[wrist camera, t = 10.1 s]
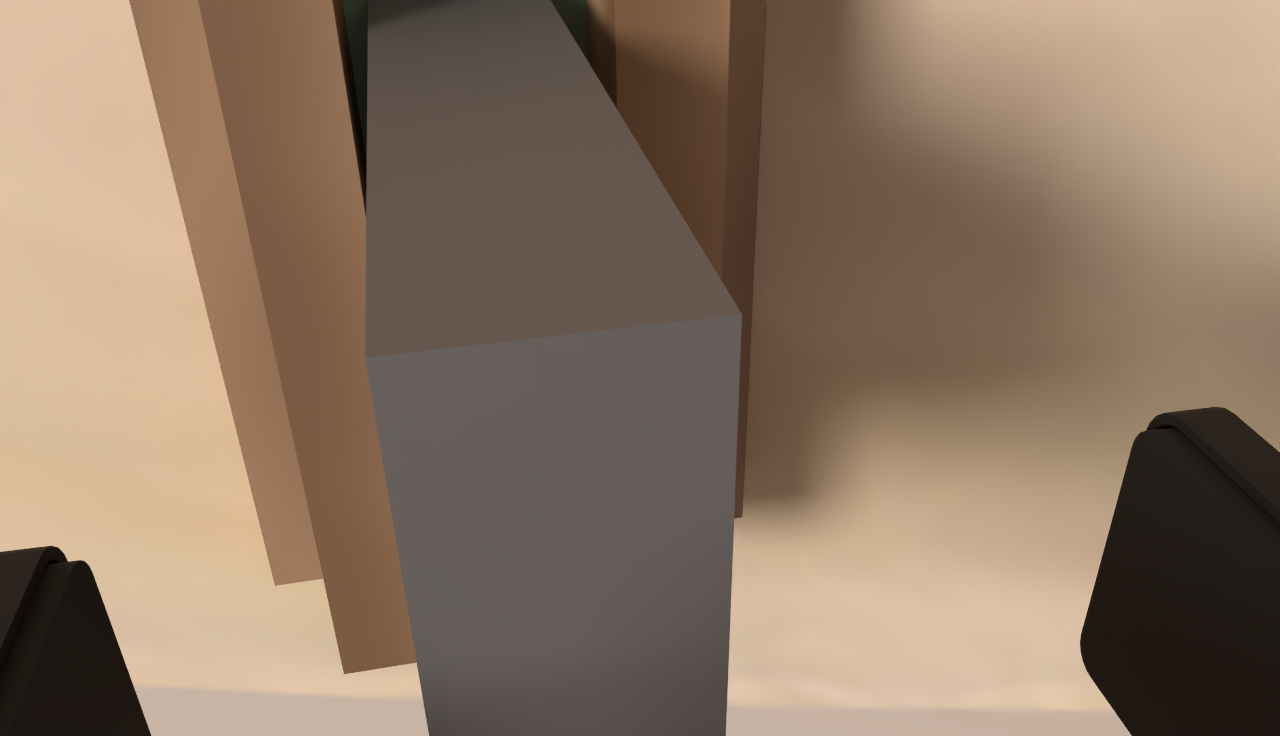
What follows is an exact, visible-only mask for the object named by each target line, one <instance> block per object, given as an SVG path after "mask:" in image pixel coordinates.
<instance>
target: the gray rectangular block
mask: <svg viewBox="0 0 1280 736" xmlns="http://www.w3.org/2000/svg"><path fill="white" fill-rule="evenodd" d="M741 327H742V313H741V312H740V310H739V309H738V307H737V305H736V304H735V302H734V300H733V299H732V297H731V295H730V294H729V292H728V291H727V289H726V287H725V286H724V284H723V282H722V281H721V279H720V277H719V276H718V274H717V272H716V271H715V269H714V268H713V266H712V264H711V263H710V261H709V259H708V258H707V256H706V254H705V253H704V251H703V249H702V248H701V246H700V245H699V243H698V241H697V240H696V238H695V236H694V235H693V233H692V231H691V230H690V228H689V227H688V225H687V223H686V222H685V220H684V218H683V217H682V215H681V213H680V212H679V210H678V208H677V207H676V205H675V204H674V202H673V200H672V199H671V197H670V195H669V194H668V192H667V190H666V189H665V187H664V186H663V184H662V182H661V181H660V179H659V177H658V176H657V174H656V172H655V171H654V169H653V167H652V166H651V164H650V163H649V161H648V159H647V158H646V156H645V154H644V153H643V151H642V149H641V148H640V146H639V144H638V143H637V141H636V140H635V138H634V136H633V135H632V133H631V131H630V130H629V128H628V126H627V125H626V123H625V122H624V120H623V118H622V117H621V115H620V113H619V112H618V110H617V108H616V107H615V105H614V103H613V102H612V100H611V99H610V97H609V95H608V94H607V92H606V90H605V89H604V87H603V85H602V84H601V82H600V81H599V79H598V77H597V76H596V74H595V72H594V71H593V69H592V67H591V66H590V64H589V62H588V61H587V59H586V58H585V56H584V54H583V53H582V51H581V49H580V48H579V46H578V44H577V43H576V41H575V39H574V38H573V36H572V35H571V33H570V31H569V30H568V28H567V26H566V25H565V23H564V21H563V20H562V18H561V17H560V15H559V13H558V12H557V10H556V8H555V7H554V5H553V3H552V2H551V0H368V71H367V188H366V304H365V361H366V367H367V372H368V378H369V384H370V390H371V396H372V402H373V408H374V414H375V419H376V425H377V431H378V437H379V443H380V449H381V455H382V461H383V466H384V472H385V478H386V484H387V490H388V496H389V502H390V508H391V513H392V519H393V525H394V531H395V537H396V543H397V549H398V555H399V560H400V566H401V572H402V578H403V584H404V590H405V596H406V602H407V607H408V613H409V619H410V625H411V631H412V637H413V643H414V649H415V654H416V660H417V666H418V672H419V678H420V684H421V690H422V696H423V701H424V707H425V713H426V718H427V724H428V731H429V736H725V735H726V712H727V686H728V661H729V635H730V609H731V584H732V558H733V532H734V507H735V481H736V455H737V430H738V404H739V378H740V353H741Z"/></svg>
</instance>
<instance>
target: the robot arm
mask: <svg viewBox="0 0 1280 736" xmlns="http://www.w3.org/2000/svg"><path fill="white" fill-rule="evenodd" d="M1080 647H1081V654H1082V659H1083V662H1084V665H1085V667H1086V670H1087V672H1088V673H1089V675H1090V677H1091V678H1092V680H1093V681H1094V683H1095V684H1096V685H1097V687H1098V688H1099V690H1100V691H1101V693H1102V694H1103V695H1104V697H1105V698H1106V700H1107V701H1108V702H1109V704H1110V705H1111V707H1112V708H1113V710H1114V711H1115V712H1116V714H1117V715H1118V717H1119V718H1120V719H1121V721H1122V722H1123V724H1124V725H1125V727H1126V728H1127V729H1128V731H1129V732H1130V733H1131V735H1132V736H1280V452H1278V451H1277V450H1276V449H1275V448H1274V447H1273V446H1271V445H1270V444H1269V443H1268V442H1267V441H1266V440H1264V439H1263V438H1262V437H1261V436H1260V435H1258V434H1257V433H1256V432H1255V431H1254V430H1253V429H1251V428H1250V427H1249V426H1248V425H1247V424H1246V423H1244V422H1243V421H1242V420H1241V419H1240V418H1239V417H1237V416H1236V415H1235V414H1234V413H1232V412H1230V411H1229V410H1227V409H1225V408H1220V407H1210V408H1202V409H1194V410H1185V411H1177V412H1169V413H1163V414H1160V415H1157V416H1156V417H1155V418H1154V419H1153V420H1152V421H1151V422H1150V424H1149V426H1148V428H1147V430H1146V431H1144V432H1141V433H1140V434H1139V435H1138V436H1137V437H1136V438H1135V440H1134V443H1133V445H1132V449H1131V453H1130V456H1129V460H1128V464H1127V467H1126V471H1125V475H1124V478H1123V482H1122V486H1121V489H1120V493H1119V497H1118V501H1117V504H1116V508H1115V512H1114V515H1113V519H1112V523H1111V526H1110V530H1109V534H1108V537H1107V541H1106V545H1105V548H1104V552H1103V556H1102V560H1101V563H1100V567H1099V571H1098V574H1097V578H1096V582H1095V585H1094V589H1093V593H1092V596H1091V600H1090V604H1089V607H1088V611H1087V615H1086V619H1085V622H1084V626H1083V630H1082V633H1081V640H1080ZM0 736H151V734H150V731H149V728H148V725H147V723H146V720H145V717H144V714H143V711H142V709H141V706H140V703H139V700H138V698H137V695H136V692H135V689H134V686H133V684H132V681H131V678H130V675H129V673H128V670H127V667H126V664H125V661H124V659H123V656H122V653H121V650H120V648H119V645H118V642H117V639H116V637H115V634H114V631H113V628H112V625H111V623H110V620H109V617H108V614H107V612H106V609H105V606H104V603H103V601H102V598H101V595H100V592H99V589H98V587H97V584H96V581H95V578H94V576H93V573H92V571H91V569H90V567H89V565H88V564H87V563H86V562H85V561H81V560H79V561H71V562H68V561H67V559H66V557H65V555H64V553H63V552H62V551H61V550H60V549H59V548H58V547H54V546H47V547H38V548H30V549H21V550H13V551H5V552H0Z"/></svg>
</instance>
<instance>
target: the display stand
mask: <svg viewBox="0 0 1280 736" xmlns="http://www.w3.org/2000/svg"><path fill="white" fill-rule="evenodd" d="M129 1H130V5H131V9H132V13H133V17H134V21H135V25H136V29H137V33H138V37H139V41H140V45H141V49H142V53H143V57H144V61H145V65H146V69H147V73H148V77H149V81H150V85H151V89H152V93H153V97H154V101H155V105H156V109H157V113H158V117H159V121H160V125H161V129H162V133H163V137H164V141H165V145H166V149H167V153H168V157H169V161H170V165H171V169H172V173H173V177H174V181H175V185H176V189H177V193H178V197H179V201H180V205H181V209H182V213H183V217H184V222H185V226H186V230H187V234H188V238H189V242H190V246H191V250H192V254H193V258H194V262H195V266H196V270H197V274H198V278H199V282H200V286H201V290H202V294H203V298H204V302H205V306H206V310H207V314H208V318H209V322H210V326H211V330H212V334H213V338H214V342H215V346H216V350H217V354H218V358H219V362H220V366H221V370H222V374H223V378H224V382H225V386H226V390H227V394H228V398H229V402H230V406H231V410H232V414H233V418H234V422H235V426H236V430H237V434H238V438H239V442H240V446H241V450H242V454H243V459H244V463H245V467H246V471H247V475H248V479H249V483H250V487H251V491H252V495H253V499H254V503H255V507H256V511H257V515H258V519H259V523H260V527H261V531H262V535H263V539H264V543H265V547H266V551H267V555H268V559H269V563H270V567H271V571H272V575H273V579H274V583H275V586H276V585H282V584H289V583H296V582H303V581H310V580H317V579H324V583H325V588H326V593H327V597H328V602H329V606H330V611H331V616H332V620H333V625H334V629H335V634H336V639H337V643H338V648H339V652H340V657H341V662H342V666H343V671H344V674H348V673H354V672H360V671H366V670H372V669H379V668H385V667H391V666H397V665H403V664H410V663H416V662H417V660H416V654H415V649H414V643H413V637H412V631H411V625H410V619H409V613H408V607H407V602H406V596H405V590H404V584H403V578H402V572H401V566H400V560H399V555H398V549H397V543H396V537H395V531H394V525H393V519H392V513H391V508H390V502H389V496H388V490H387V484H386V478H385V472H384V466H383V461H382V455H381V449H380V443H379V437H378V431H377V425H376V419H375V414H374V408H373V402H372V396H371V390H370V384H369V378H368V372H367V367H366V361H365V304H366V188H367V71H368V0H129ZM551 2H552V3H553V5H554V7H555V8H556V10H557V12H558V13H559V15H560V17H561V18H562V20H563V21H564V23H565V25H566V26H567V28H568V30H569V31H570V33H571V35H572V36H573V38H574V39H575V41H576V43H577V44H578V46H579V48H580V49H581V51H582V53H583V54H584V56H585V58H586V59H587V61H588V62H589V64H590V66H591V67H592V69H593V71H594V72H595V74H596V76H597V77H598V79H599V81H600V82H601V84H602V85H603V87H604V89H605V90H606V92H607V94H608V95H609V97H610V99H611V100H612V102H613V103H614V105H615V107H616V108H617V110H618V112H619V113H620V115H621V117H622V118H623V120H624V122H625V123H626V125H627V126H628V128H629V130H630V131H631V133H632V135H633V136H634V138H635V140H636V141H637V143H638V144H639V146H640V148H641V149H642V151H643V153H644V154H645V156H646V158H647V159H648V161H649V163H650V164H651V166H652V167H653V169H654V171H655V172H656V174H657V176H658V177H659V179H660V181H661V182H662V184H663V186H664V187H665V189H666V190H667V192H668V194H669V195H670V197H671V199H672V200H673V202H674V204H675V205H676V207H677V208H678V210H679V212H680V213H681V215H682V217H683V218H684V220H685V222H686V223H687V225H688V227H689V228H690V230H691V231H692V233H693V235H694V236H695V238H696V240H697V241H698V243H699V245H700V246H701V248H702V249H703V251H704V253H705V254H706V256H707V258H708V259H709V261H710V263H711V264H712V266H713V268H714V269H715V271H716V272H717V274H718V276H719V277H720V279H721V281H722V282H723V284H724V286H725V287H726V289H727V291H728V292H729V294H730V295H731V297H732V299H733V300H734V302H735V304H736V305H737V307H738V309H739V310H740V312H741V313H742V327H741V353H740V378H739V404H738V430H737V455H736V481H735V507H734V518H740V517H742V511H743V489H744V468H745V447H746V425H747V404H748V383H749V361H750V340H751V319H752V297H753V276H754V254H755V233H756V212H757V190H758V169H759V148H760V126H761V105H762V84H763V62H764V41H765V20H766V0H551Z"/></svg>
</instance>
